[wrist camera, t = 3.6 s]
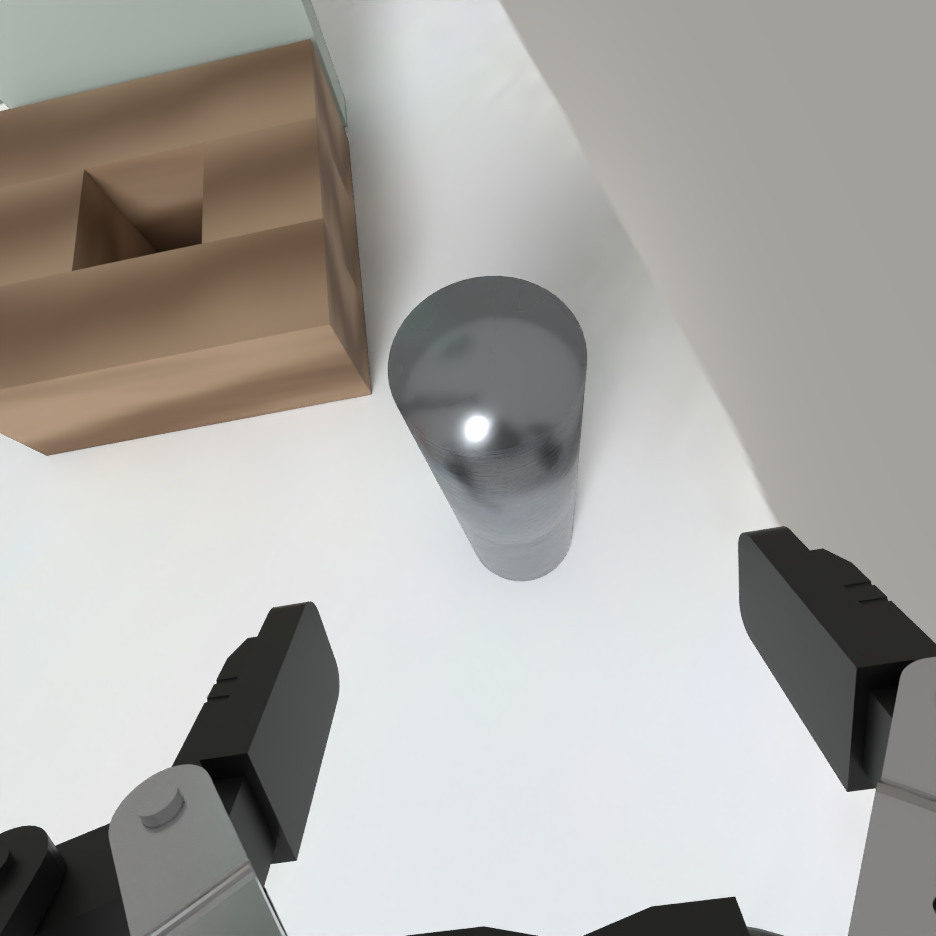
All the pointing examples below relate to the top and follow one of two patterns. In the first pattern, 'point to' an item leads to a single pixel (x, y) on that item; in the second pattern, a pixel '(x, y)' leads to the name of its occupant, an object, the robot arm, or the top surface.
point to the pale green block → (140, 41)
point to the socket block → (177, 254)
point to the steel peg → (497, 414)
